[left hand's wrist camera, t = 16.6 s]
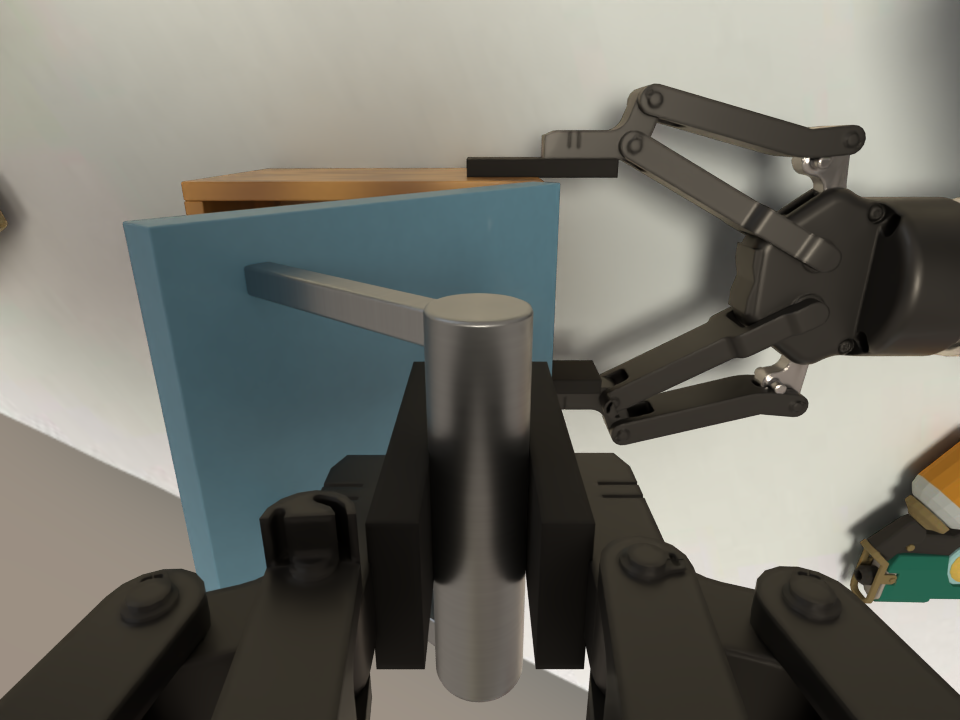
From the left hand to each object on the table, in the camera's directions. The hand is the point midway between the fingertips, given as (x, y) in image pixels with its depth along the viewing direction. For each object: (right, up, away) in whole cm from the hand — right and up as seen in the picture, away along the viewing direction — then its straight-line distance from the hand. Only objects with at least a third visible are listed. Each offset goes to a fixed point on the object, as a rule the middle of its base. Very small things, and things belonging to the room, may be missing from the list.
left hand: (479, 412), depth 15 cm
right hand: (-1, +5, +14) cm, 15 cm away
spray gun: (+35, -10, +26) cm, 45 cm away
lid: (-3, +2, +5) cm, 6 cm away
